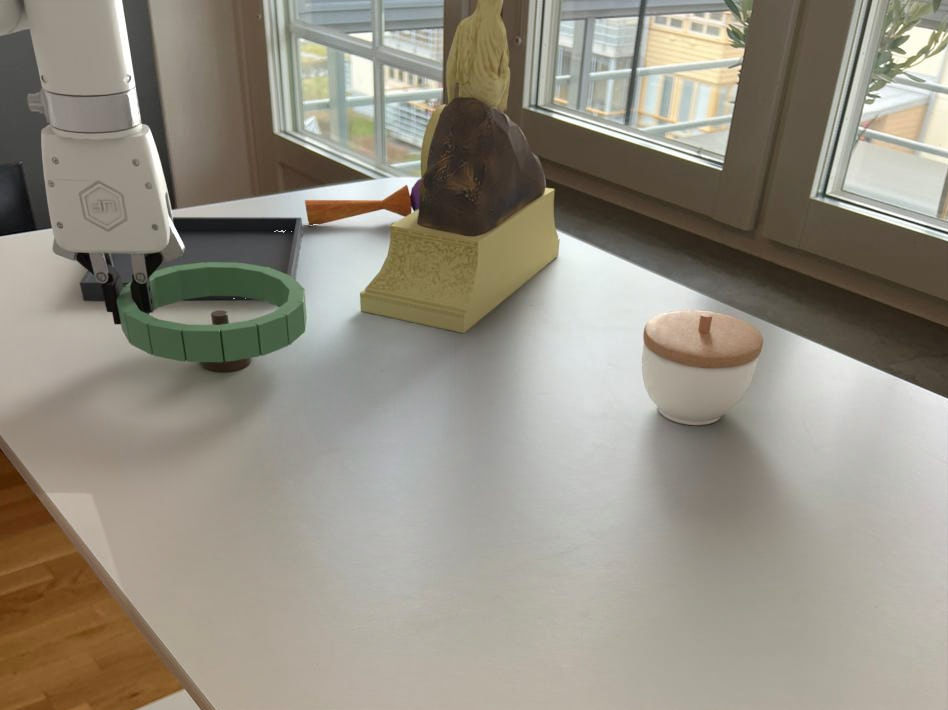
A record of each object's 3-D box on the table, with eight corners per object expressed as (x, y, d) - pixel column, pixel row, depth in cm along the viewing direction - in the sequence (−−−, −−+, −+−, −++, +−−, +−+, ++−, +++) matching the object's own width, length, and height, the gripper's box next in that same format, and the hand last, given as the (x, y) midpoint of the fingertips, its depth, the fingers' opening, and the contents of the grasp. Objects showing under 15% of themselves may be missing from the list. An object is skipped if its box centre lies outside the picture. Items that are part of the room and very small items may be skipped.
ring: (107, 361, 90) (100, 330, 88) (141, 289, 104) (135, 260, 102) (301, 362, 92) (298, 331, 90) (309, 291, 105) (308, 263, 103)
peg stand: (197, 372, 98) (189, 323, 95) (204, 351, 102) (196, 303, 99) (248, 371, 99) (242, 323, 95) (253, 350, 102) (247, 303, 99)
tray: (83, 300, 111) (79, 282, 110) (122, 232, 129) (119, 216, 128) (292, 299, 113) (290, 282, 112) (302, 233, 131) (301, 217, 130)
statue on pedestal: (467, 238, 131) (473, -34, 112) (558, 255, 127) (580, -25, 108) (360, 310, 111) (345, -6, 92) (463, 333, 107) (470, 8, 88)
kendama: (302, 187, 133) (448, 170, 136) (309, 234, 136) (452, 217, 139) (303, 191, 128) (455, 174, 131) (311, 240, 131) (459, 222, 134)
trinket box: (674, 446, 89) (691, 347, 83) (612, 396, 97) (624, 301, 91) (769, 425, 93) (792, 328, 87) (703, 378, 100) (720, 286, 94)
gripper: (-14, 118, 81) (40, 334, 93) (180, 124, 83) (209, 335, 95) (11, 97, 87) (59, 303, 99) (192, 103, 89) (218, 305, 100)
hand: (132, 317), depth 97 cm, fingers closed on ring, 1 cm apart
